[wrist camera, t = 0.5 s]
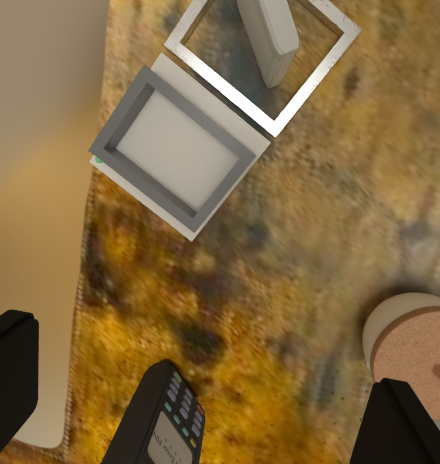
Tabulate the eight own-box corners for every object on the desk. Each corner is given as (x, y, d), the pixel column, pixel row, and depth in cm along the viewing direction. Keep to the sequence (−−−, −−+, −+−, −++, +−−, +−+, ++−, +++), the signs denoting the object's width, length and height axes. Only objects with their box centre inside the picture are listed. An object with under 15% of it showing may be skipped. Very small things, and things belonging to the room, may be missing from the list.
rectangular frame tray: (243, -66, 30) (242, -76, 28) (356, 35, 31) (361, 29, 29) (167, 49, 32) (164, 44, 31) (274, 137, 34) (275, 137, 32)
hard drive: (266, 90, 33) (275, 58, 21) (235, 0, 31) (225, -92, 19) (283, 83, 32) (302, 46, 20) (252, -9, 31) (253, -107, 19)
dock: (164, 54, 33) (152, 42, 29) (270, 142, 34) (272, 142, 30) (93, 161, 36) (74, 163, 32) (193, 239, 37) (186, 250, 33)
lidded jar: (474, 330, 37) (548, 391, 27) (388, 384, 39) (429, 456, 30) (414, 256, 35) (470, 294, 26) (328, 317, 38) (353, 371, 29)
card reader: (212, 413, 42) (191, 554, 27) (184, 425, 43) (150, 569, 28) (172, 353, 40) (128, 470, 26) (144, 367, 41) (86, 488, 27)
